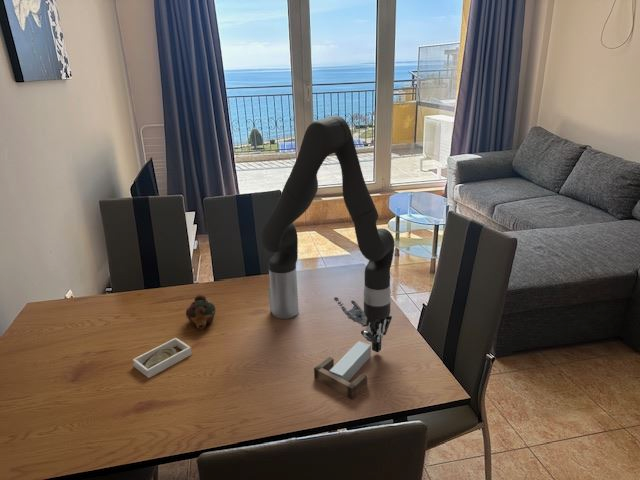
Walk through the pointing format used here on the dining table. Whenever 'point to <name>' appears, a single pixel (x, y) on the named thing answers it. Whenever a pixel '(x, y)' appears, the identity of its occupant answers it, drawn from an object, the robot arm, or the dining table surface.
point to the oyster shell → (159, 356)
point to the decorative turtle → (200, 311)
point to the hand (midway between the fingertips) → (376, 350)
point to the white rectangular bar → (352, 361)
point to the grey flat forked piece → (354, 313)
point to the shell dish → (166, 363)
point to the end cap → (339, 380)
